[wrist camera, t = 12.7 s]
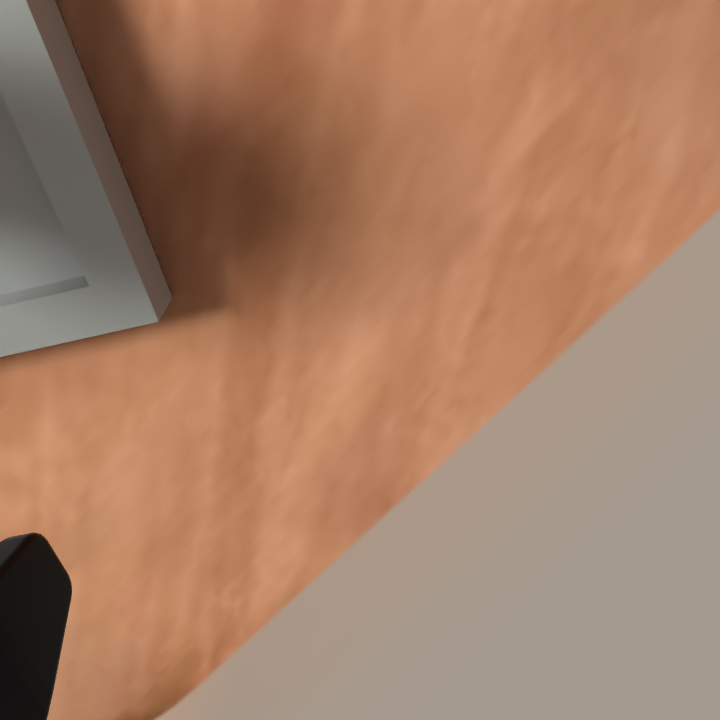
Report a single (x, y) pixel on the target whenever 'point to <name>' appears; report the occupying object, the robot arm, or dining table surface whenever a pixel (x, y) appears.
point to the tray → (63, 198)
